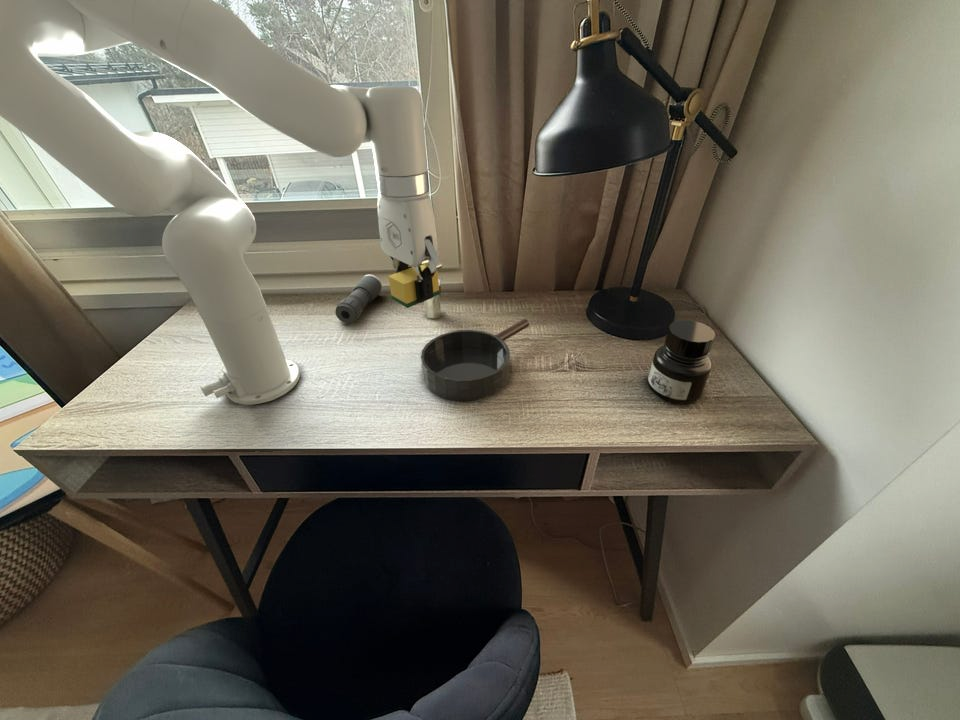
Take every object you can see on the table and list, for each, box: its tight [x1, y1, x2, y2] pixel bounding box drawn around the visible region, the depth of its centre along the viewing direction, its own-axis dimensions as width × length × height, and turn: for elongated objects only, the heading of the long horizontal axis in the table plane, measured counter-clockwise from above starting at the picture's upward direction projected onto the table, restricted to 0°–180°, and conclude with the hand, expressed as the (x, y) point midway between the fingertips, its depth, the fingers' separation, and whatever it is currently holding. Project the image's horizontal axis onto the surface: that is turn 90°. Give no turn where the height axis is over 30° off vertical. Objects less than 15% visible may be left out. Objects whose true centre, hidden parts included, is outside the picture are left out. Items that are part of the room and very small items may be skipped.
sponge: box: [387, 264, 440, 309], centre depth 72 cm, size 7×5×4 cm, turn 134°
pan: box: [419, 329, 511, 402], centre depth 78 cm, size 16×16×4 cm
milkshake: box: [423, 276, 444, 320], centre depth 94 cm, size 4×5×10 cm
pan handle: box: [494, 318, 530, 342], centre depth 85 cm, size 9×2×2 cm, turn 135°
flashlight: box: [334, 274, 383, 325], centre depth 99 cm, size 15×5×5 cm, turn 169°
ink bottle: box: [647, 319, 716, 405], centre depth 71 cm, size 10×9×12 cm
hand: (415, 293), depth 73 cm, fingers closed on sponge, 4 cm apart
